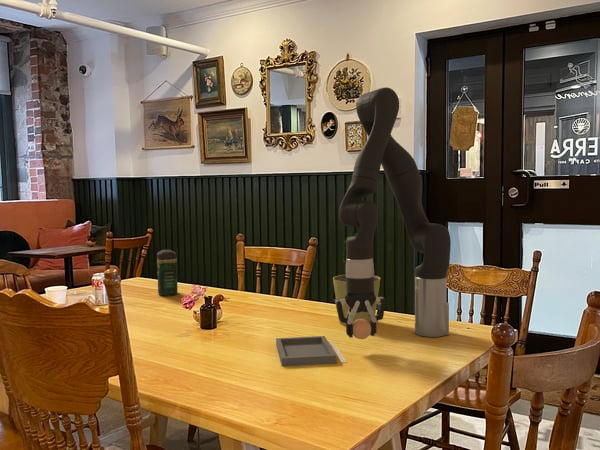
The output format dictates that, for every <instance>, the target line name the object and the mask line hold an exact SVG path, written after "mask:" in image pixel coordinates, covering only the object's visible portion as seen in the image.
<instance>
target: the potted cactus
mask: <svg viewBox="0 0 600 450" xmlns="http://www.w3.org/2000/svg"><path fill="white" fill-rule="evenodd" d="M358 234H359V232H356V233H353V232H349V234H348V235H347V237H346V239H344V240H343V242H344V244H343V245H342V247H343V253H341V255H342V257H341V258H342V262H344V263H345V264H343V266H344V267H346V241H347V238H349V237H351V236H355V235H358ZM332 280H333V281H332V282H333V288H334V294H335V300H337V299H338V300H341V299H345V297H346V274H341V275H340V274H339V275H337V276H334V277H332ZM380 283H381V277H380V276H378V275H374V294H375V296H376V297H379V291H380ZM377 307H378V304H377V301H375V302H374V304H373V305H372V307H371V308H372V310H373V312H374V315H377ZM342 309H343V313H344V317H346V316H347V314H348V310H349V306H348V304H347V303H345V304H344V307H343V308H342ZM357 319H365V320H367V321H368V322H369V323H370V321H371V320H370V318H369V315H368V313H367V312H359V313H356V314H355V316H354V318H353V320H352V323H351V324H353V322H354V321H355V320H357ZM338 322H339V324H340V325H341V326H344V327H346V323H344V322H343V323H342V322H341V321H340V320H339V319H338Z"/></svg>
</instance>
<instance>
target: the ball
mask: <svg viewBox="0 0 600 450" xmlns="http://www.w3.org/2000/svg"><path fill="white" fill-rule="evenodd" d="M352 330H353V337H354V338H356V339H359V340H365V339H367V338H369V336H371V335H370V333H371V325H370V323H369V322H368V321H367V320H365V319H357V320H355V321H354V322H353V324H352Z"/></svg>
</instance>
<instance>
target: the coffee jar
mask: <svg viewBox="0 0 600 450" xmlns="http://www.w3.org/2000/svg"><path fill="white" fill-rule="evenodd" d="M156 259H157V260H156V265H157V266H156V267H157V293H158V295H160V296H166V297H169V296H173V295H177V294H178V259H177V252H175V251H173V250H171V249H161V250H160V251H158V252H157V253H156Z"/></svg>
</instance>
